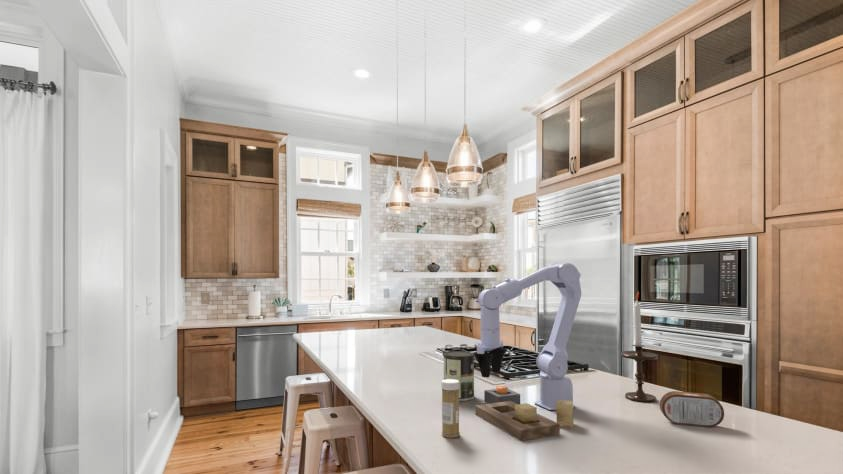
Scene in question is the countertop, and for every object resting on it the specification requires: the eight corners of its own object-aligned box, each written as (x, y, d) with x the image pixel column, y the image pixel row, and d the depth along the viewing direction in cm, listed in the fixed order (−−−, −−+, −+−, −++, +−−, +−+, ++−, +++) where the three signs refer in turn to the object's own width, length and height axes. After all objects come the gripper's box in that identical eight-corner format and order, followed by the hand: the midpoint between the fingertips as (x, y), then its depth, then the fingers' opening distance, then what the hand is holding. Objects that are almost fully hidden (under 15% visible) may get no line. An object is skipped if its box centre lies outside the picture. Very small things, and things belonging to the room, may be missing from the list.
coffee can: (472, 392, 151) (472, 350, 152) (476, 401, 141) (475, 356, 142) (442, 392, 151) (442, 350, 153) (443, 401, 141) (443, 356, 142)
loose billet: (558, 421, 122) (557, 399, 122) (573, 423, 120) (572, 401, 121) (556, 426, 118) (556, 403, 119) (572, 428, 117) (571, 405, 117)
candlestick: (667, 401, 142) (662, 291, 144) (641, 405, 138) (637, 291, 140) (639, 392, 152) (635, 290, 155) (614, 395, 148) (611, 290, 151)
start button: (503, 392, 141) (503, 385, 141) (510, 395, 138) (510, 388, 138) (494, 393, 140) (493, 386, 140) (500, 396, 136) (500, 389, 137)
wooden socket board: (510, 409, 133) (510, 400, 133) (559, 434, 112) (559, 423, 113) (475, 414, 128) (475, 405, 128) (520, 440, 108) (520, 430, 108)
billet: (527, 426, 118) (527, 403, 119) (537, 431, 115) (536, 407, 115) (515, 428, 117) (514, 405, 117) (524, 433, 113) (523, 409, 114)
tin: (722, 426, 119) (720, 393, 120) (726, 430, 116) (724, 397, 117) (660, 420, 124) (658, 389, 124) (662, 423, 121) (661, 392, 121)
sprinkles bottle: (463, 436, 111) (463, 381, 112) (448, 439, 108) (448, 383, 110) (452, 430, 115) (452, 377, 116) (437, 434, 112) (437, 379, 113)
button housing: (505, 398, 144) (505, 387, 144) (520, 405, 136) (520, 394, 137) (484, 401, 141) (484, 390, 141) (498, 408, 133) (498, 396, 134)
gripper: (488, 325, 143) (489, 368, 142) (467, 330, 131) (468, 377, 130) (508, 327, 139) (509, 371, 138) (489, 332, 127) (490, 380, 126)
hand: (491, 374), depth 134 cm, fingers open, 7 cm apart
